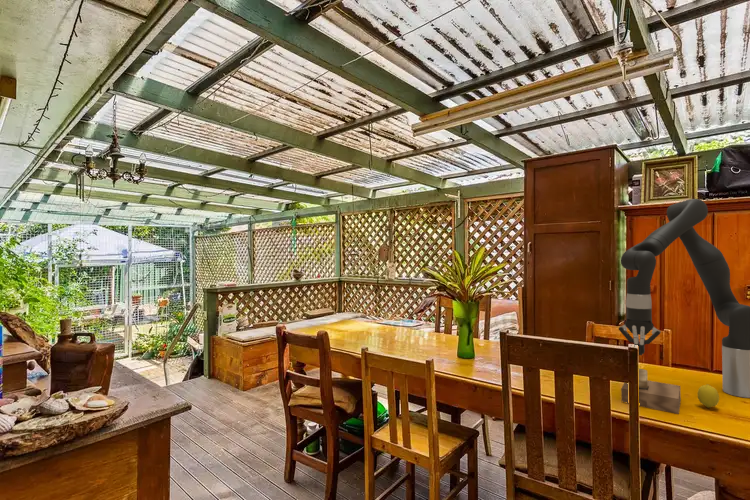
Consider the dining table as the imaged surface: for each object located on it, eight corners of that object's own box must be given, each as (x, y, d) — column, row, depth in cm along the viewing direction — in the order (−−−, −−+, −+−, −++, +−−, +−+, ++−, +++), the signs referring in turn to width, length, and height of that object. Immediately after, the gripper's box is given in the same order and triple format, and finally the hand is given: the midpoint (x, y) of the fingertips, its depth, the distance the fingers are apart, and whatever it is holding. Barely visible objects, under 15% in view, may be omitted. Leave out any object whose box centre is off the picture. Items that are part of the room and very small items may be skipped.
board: (680, 399, 138) (680, 385, 138) (678, 414, 127) (678, 398, 127) (627, 389, 149) (627, 376, 149) (621, 402, 137) (621, 388, 137)
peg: (648, 400, 138) (647, 369, 138) (647, 404, 135) (646, 372, 135) (634, 397, 141) (633, 367, 141) (632, 401, 138) (632, 370, 138)
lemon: (697, 403, 135) (697, 380, 135) (718, 407, 132) (718, 383, 132) (697, 408, 131) (697, 385, 131) (719, 412, 127) (719, 388, 127)
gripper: (662, 306, 137) (663, 355, 137) (618, 303, 145) (619, 349, 145) (660, 309, 131) (661, 360, 131) (615, 306, 139) (616, 354, 140)
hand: (639, 354), depth 138 cm, fingers closed
